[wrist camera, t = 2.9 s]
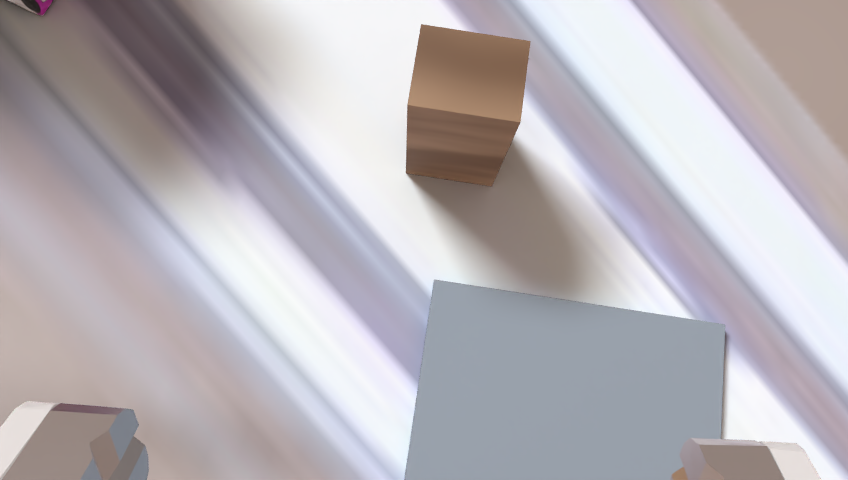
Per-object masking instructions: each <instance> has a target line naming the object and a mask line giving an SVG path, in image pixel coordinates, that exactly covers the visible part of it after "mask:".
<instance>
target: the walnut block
mask: <svg viewBox="0 0 848 480" xmlns="http://www.w3.org/2000/svg"><path fill="white" fill-rule="evenodd" d="M529 48H530V41H526V40H519V39H513V38H506V37H500V36H493V35H487V34H480V33H474V32H468V31H461V30H455V29H448V28H442V27H435V26H429V25H422V24H421V28H420V34H419V40H418V46H417V52H416V58H415V64H414V70H413V76H412V81H411V87H410V93H409V99H408V106H407V150H406V173H408V174H415V175H421V176H428V177H434V178H441V179H447V180H454V181H460V182H466V183H473V184H479V185H486V186H492V185H493V183H494V180H495V178H496V176H497V174H498V171H499V169H500V167H501V165H502V162H503V160H504V158H505V156H506V153H507V151H508V149H509V147H510V144H511V142H512V140H513V138H514V135H515V133H516V131H517V129H518V126H519V124H520V121H521V113H522V105H523V97H524V89H525V81H526V73H527V64H528V56H529Z"/></svg>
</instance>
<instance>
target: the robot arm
mask: <svg viewBox="0 0 848 480" xmlns="http://www.w3.org/2000/svg"><path fill="white" fill-rule="evenodd" d="M138 426H139V424H138V421H137V419H136V416H135V413H134V411H133V410H131V409H125V408H113V407H101V406H88V405H76V404H64V403H46V402H32V401H26V402H25V403H23V404H21V405H20V406H18V407H17V408H15V409H14V410H13V412H12V413H11V414H10V416H9V417H8V418H7V420H6V421H5V422H4V423H3V425H2V426H1V427H0V480H147V476H148V472H149V467H148V454H147V451H146V447H145V445H144V444H143V443H141V442H140V441H139V440H138V439H137V438H135V437H134V436H133V435H134V434H135V432H136V430H137V428H138ZM679 455H680V458H681V461H682V464H683V466H684V467H682V468H680V469H679V470H677V471H676V472H674V473H673V474H672V475H671V478H670V480H821V478H820V477H819V475H818V473H817V471H816V470H815V468H814V466H813V464H812V463H811V461H810V459H809V458H808V456H807V454H806V452H805V451H804V449H802V448H801V447H800V446H799V445H798V444H797V443H781V442H762V441H761V442H757V441H753V440H728V439H704V438H689V439H688V440H687V441H686V442H685V443H684V444H683V447H682V449H681V452H680V454H679Z"/></svg>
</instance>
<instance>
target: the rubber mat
mask: <svg viewBox="0 0 848 480" xmlns="http://www.w3.org/2000/svg"><path fill="white" fill-rule="evenodd" d="M724 345H725V324H718V323H712V322H705V321H699V320H692V319H686V318H679V317H673V316H666V315H660V314H654V313H647V312H641V311H634V310H628V309H621V308H615V307H608V306H602V305H595V304H589V303H582V302H576V301H570V300H563V299H557V298H550V297H544V296H537V295H531V294H524V293H518V292H511V291H505V290H498V289H492V288H485V287H479V286H473V285H466V284H460V283H453V282H447V281H440V280H434V284H433V290H432V297H431V304H430V311H429V317H428V324H427V331H426V338H425V344H424V351H423V358H422V364H421V371H420V378H419V385H418V391H417V398H416V405H415V412H414V418H413V425H412V432H411V439H410V445H409V452H408V459H407V465H406V472H405V479H404V480H670V478H671V475H672V474H673V473H674V472H676V471H677V470H679V469H680V468H682V467H684V466H683V464H682V461H681V458H680V455H679V454H680V452H681V449H682V447H683V444H684V443H685V442H686V441H687V440H688V439H689V438H704V439H721V422H722V396H723V370H724Z"/></svg>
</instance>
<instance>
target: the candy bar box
mask: <svg viewBox="0 0 848 480" xmlns="http://www.w3.org/2000/svg"><path fill="white" fill-rule="evenodd" d="M6 1H8V2H11V3H13V4H15V5H17V6H19V7H21V8H23V9H25V10H27V11H30V12H33V13H35V14H37V15H40V16H42V15H44V14H45V12H46V11H47V9H48V7H49V6H50V4H51V3H52V1H53V0H6Z"/></svg>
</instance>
